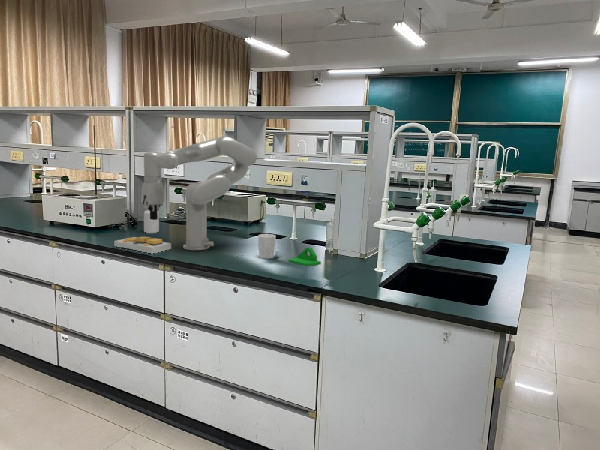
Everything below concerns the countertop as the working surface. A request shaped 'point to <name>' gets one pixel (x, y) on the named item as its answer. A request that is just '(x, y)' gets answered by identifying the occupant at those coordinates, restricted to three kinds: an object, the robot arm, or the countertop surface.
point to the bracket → (306, 258)
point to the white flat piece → (142, 246)
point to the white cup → (266, 245)
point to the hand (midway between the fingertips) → (153, 219)
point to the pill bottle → (150, 223)
